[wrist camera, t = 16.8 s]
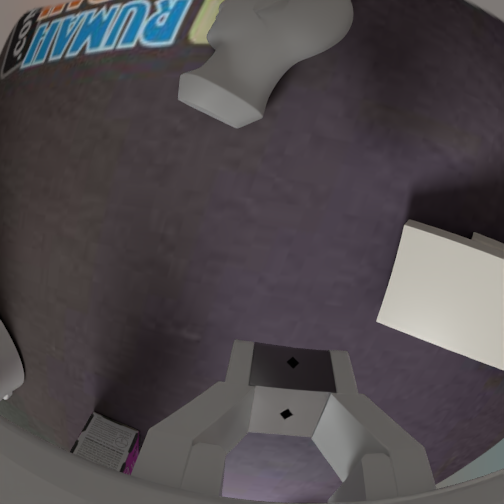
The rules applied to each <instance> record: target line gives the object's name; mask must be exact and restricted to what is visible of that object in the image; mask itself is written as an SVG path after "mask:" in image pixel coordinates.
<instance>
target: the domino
mask: <svg viewBox="0 0 504 504" xmlns="http://www.w3.org/2000/svg"><path fill="white" fill-rule="evenodd" d="M376 322H379V323H381V324H384V325H386V326H389V327H391V328H394V329H396V330H399V331H401V332H404V333H407V334H409V335H412V336H414V337H417V338H419V339H422V340H425V341H427V342H430V343H432V344H435V345H438V346H440V347H443V348H446V349H448V350H451V351H453V352H456V353H459V354H461V355H464V356H467V357H469V358H472V359H475V360H477V361H480V362H483V363H485V364H488V365H491V366H493V367H496V368H499V369H502V370H504V252H503V251H500V250H498V249H495V248H493V247H490V246H487V245H485V244H482V243H479V242H476V241H474V240H471V239H468V238H465V237H462V236H459V235H457V234H454V233H451V232H448V231H445V230H442V229H439V228H436V227H433V226H430V225H427V224H423V223H420V222H417V221H414V220H411V219H409V220H408V221H407V222H406V223H405V225H404V228H403V233H402V237H401V241H400V244H399V248H398V252H397V256H396V259H395V263H394V267H393V270H392V274H391V277H390V280H389V284H388V287H387V290H386V293H385V297H384V300H383V303H382V306H381V309H380V312H379V315H378V318H377V321H376Z"/></svg>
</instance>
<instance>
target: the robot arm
mask: <svg viewBox="0 0 504 504" xmlns="http://www.w3.org/2000/svg"><path fill="white" fill-rule="evenodd" d="M253 348H254V349H253ZM23 382H24V371H23V366H22V363H21V360H20V357H19V354H18V352H17V350H16V348H15V345H14V343H13V341H12V339H11V337H10V335H9V333H8V332H7V330H6V328H5V326H4V325H3V323H2V321H1V319H0V401H1V400H2V399H5V400H7V399H8V398H9V397H10V396H11V395H12V391H13V390H15V389H16V388H18V387H20V386H21V385H22V384H23ZM247 432H256V433H268V434H281V435H292V436H304V437H312V440H313V441H314V443H315V444H316V445H317V447H318V448H319V450H320V451H321V453H322V454H323V455H324V457H325V458H326V460H327V461H328V462H329V464H330V465H331V467H332V468H333V469H334V471H335V472H336V473H337V475H338V476H339V478H340V479H341V480H342V482H343V483H342V484H341V486H340V487H339V488H338V489H337V490H336V492H335V493H334V494H333V495H332V496H331V497H330V499H329V500H328V503H280V502H265V501H253V500H244V499H235V498H228V497H222V489H223V479H224V468H225V458H226V455H227V454H228V453H229V452H230V451H231V450H232V449H233V448H234V447H235V446H236V445H237V444H238V443H239V442H240V441H241V440H242V439H243V437H244V436H245V435H246V434H247ZM0 504H504V469H501V470H499V471H496V472H493V473H490V474H488V475H485V476H482V477H479V478H476V479H472V480H469V481H466V482H462V483H459V484H455V485H452V486H447V487H444V488H440V489H436V486H435V482H434V479H433V475H432V472H431V468H430V465H429V461H428V458H427V455H426V451H425V448H424V447H423V446H422V445H421V444H420V443H418V442H417V441H416V440H415V439H414V438H413V437H412V436H410V435H409V434H408V433H407V432H406V431H405V430H404V429H402V428H401V427H400V426H399V425H398V424H397V423H396V422H394V421H393V420H392V419H391V418H390V417H389V416H388V415H387V414H385V413H384V412H383V411H382V410H381V409H380V408H379V407H378V406H376V405H375V404H374V403H373V402H372V401H371V400H370V399H369V398H368V397H366V396H365V395H364V394H358V390H357V386H356V382H355V378H354V374H353V370H352V366H351V362H350V358H349V354H348V352H347V351H338V350H328V351H327V350H315V349H303V348H293V347H286V346H279V345H272V344H265V343H258V342H255V343H254V342H250V341H243V340H237V339H235V341H234V343H233V347H232V352H231V356H230V361H229V365H228V370H227V374H226V379H225V382H221V381H219V382H217V383H216V384H214V385H213V386H212V387H210V388H209V389H207V390H206V391H205V392H203V393H202V394H200V395H199V396H197V397H196V398H195V399H193V400H192V401H190V402H189V403H187V404H186V405H184V406H183V407H182V408H180V409H179V410H177V411H176V412H174V413H173V414H171V415H170V416H168V417H167V418H165V419H164V420H162V421H161V422H159V423H157V424H156V425H154V426H153V427H151V428H150V429H149V430H148V433H147V435H146V438H145V440H144V443H143V445H142V448H141V450H140V453H139V455H138V458H137V460H136V463H135V465H134V468H133V470H132V473H131V475H128V474H125V473H122V472H119V471H116V470H113V469H110V468H108V467H105V466H102V465H100V464H97V463H94V462H92V461H89V460H87V459H85V458H82V457H80V456H77V455H75V454H73V453H71V452H68V451H66V450H64V449H62V448H60V447H58V446H55V445H53V444H51V443H49V442H47V441H45V440H43V439H41V438H40V437H38V436H36V435H34V434H32V433H30V432H28V431H27V430H25V429H23V428H21V427H20V426H18V425H16V424H14V423H13V422H11V421H9V420H8V419H6V418H4V417H3V416H1V415H0Z"/></svg>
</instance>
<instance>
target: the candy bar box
mask: <svg viewBox="0 0 504 504" xmlns="http://www.w3.org/2000/svg"><path fill="white" fill-rule="evenodd" d="M70 452H71V453H73V454H75V455H77V456H80V457H82V458H85V459H87V460H89V461H92V462H94V463H97V464H100V465H102V466H105V467H108V468H110V469H113V470H116V471H119V472H122V473H125V474H128V475H131V473H132V470H133V468H134V465H135V463H136V460H137V458H138V455H139V431H138V430H136V429H134V428H132V427H129V426H127V425H124V424H121V423H119V422H117V421H114V420H112V419H109V418H107V417H105V416H103V415H100V414H98V413H96V412H93V413H92V414H91V416H90V418H89V420H88V421H87V423H86V425H85V427H84V428H83V430H82V432H81V433H80V435H79V437H78V439H77V440H76V442H75V444H74V446H73V447H72V449H71V451H70Z"/></svg>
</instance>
